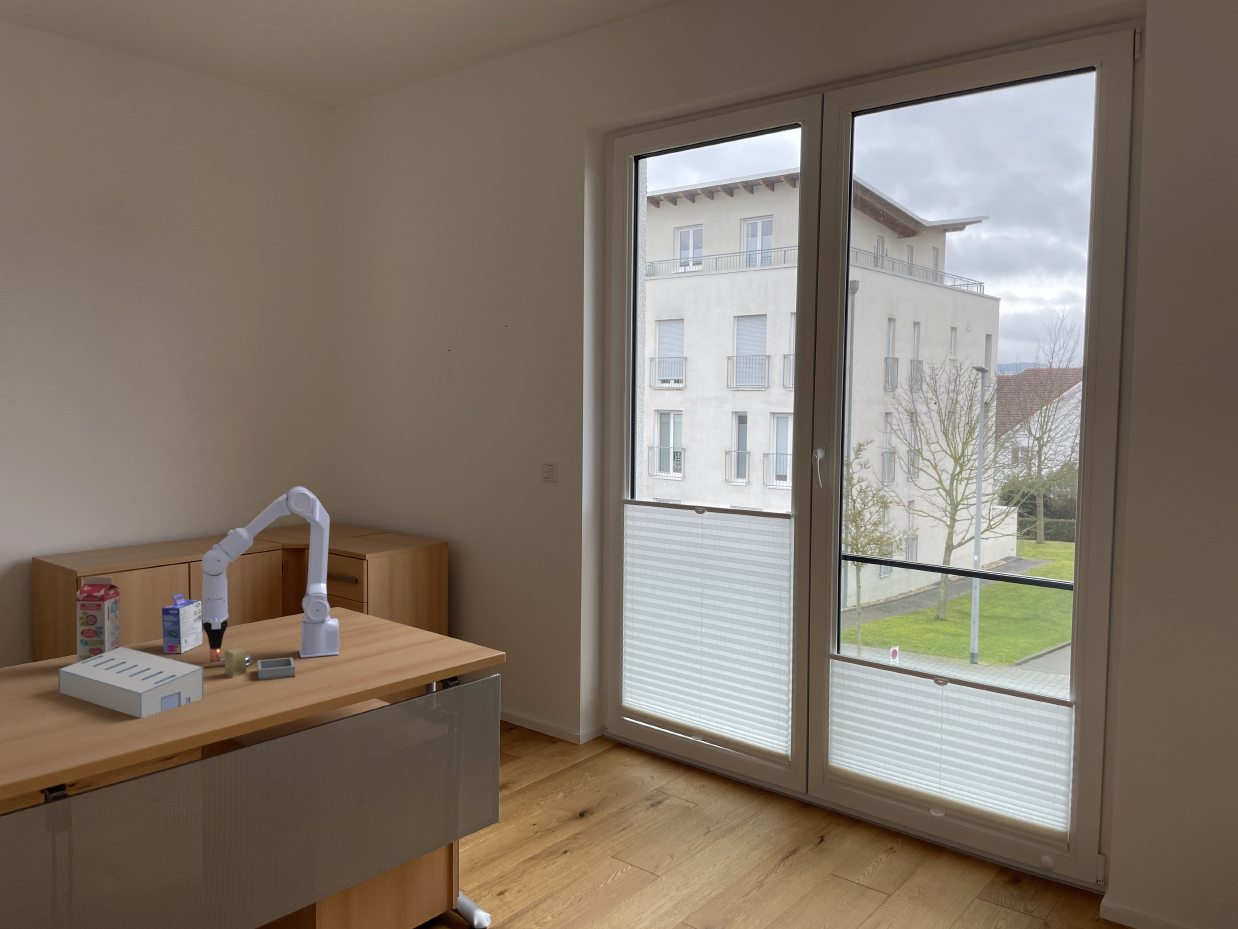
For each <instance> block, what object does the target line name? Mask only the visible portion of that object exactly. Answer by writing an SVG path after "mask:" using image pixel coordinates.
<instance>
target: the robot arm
mask: <svg viewBox="0 0 1238 929" xmlns="http://www.w3.org/2000/svg"><path fill="white" fill-rule="evenodd" d="M290 511H291V512H292V513H294V514H297V515H298V516H300V517H302V518H304V519H305V520H306V521H307V522H308V523H309V524H310V531H309V532H310V533H309V534H310V535H309V549H308V550H309V554H308V569H307V570H308V571H307V584H306V591H305V594H304V597H303V598H302V602H301V607H302V609H303V612H304V615H303V616H302V617H301V620H300V621H301V624H300V626H301V627H300V632H301V633H300V635H301V638H300V639H301V640H300V642H301V643H300V645H301V646H300V647H299V648H298V653H299V656H300V658H302V659H304V658H315V657H326V656H334V655H335V656H338V655H339V654H340V629H339V628H340V625H339V624H340V623H339V619H338V618H335V617H334V618H331V615H330V611H331V606H330V604H329V602H328V592H327V576H328V560H329V559H328V557H329V556H328V555H329V540H330V538H329V537H330V522H331V520H330V515H329V514H328V512H327V511H326V509H325V508H324V506H323V504H321V502H320V500H319V499H318V497H317V496H316V495H315V494H314V493H313V492H312V491H310V490H309V489H307V488H306V487H304V486H293V487H292V488H290V489H289V490H288V491H287V493H284V494H282V495H281V496H279V497H277V498H276V499H275V500H274V501H273V502H271V503H270V504H269V505H268V506H267V507H266V508H264V509H263V510H262V512H260V513H258V515H257V516H256V517H255V518H253V519H252V520H251V522H249V523H248V524H247V525H246V526H245V527H237V528H235V529H234V530H232V529H230V530H229V531H227V536H225V537H224V538H223V539H222V540H221V541H220V542H218V543H217V544H216V543H214V544H213V545H212V547H211V548H212V549H210V550H208V551H206V553H205V554H204V555H203V557H202V560H201V567H202V569H203V572H202V581H201V582H202V588H201V590H202V591H201V592H202V614H201V615H198V620H202V621H204V622H202V629H204V632H205V633H206V636H207V639H208V645H209V650H210V649H212V648H220V649H221V648H222V644H223V638H224V634H225V632H226V630H227V628H228V620H227V619H229V611H228V608H229V607H228V606H229V604H228V602H229V601H228V600H229V599H228V578H227V569H228V566H229V563H231V562H232V563H233V562H234V561H235V560H236V559H238V558H239V557H240V556H242V554H244V553H245V552H246V551H247V550H248V549H249V548H251V547H252V546H253V545H254V537H255V536H257V535H258V534H259V533H261V531H263V530H264V529H265V528H266V527H268V526H269V525H270V524H271V523H273V522H274V521H275V520H276V519H277V518H280V517H284V516H290V515H291V512H290Z"/></svg>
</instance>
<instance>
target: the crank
mask: <svg viewBox="0 0 1238 929" xmlns="http://www.w3.org/2000/svg"><path fill="white" fill-rule="evenodd" d="M221 654H222V653H221V649H220V648H212V649H210V648H209V662H210V663H212V664H218V663H225V657H221ZM250 660H251V655H249V654H246V662H249V661H250Z"/></svg>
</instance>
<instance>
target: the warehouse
mask: <svg viewBox="0 0 1238 929" xmlns="http://www.w3.org/2000/svg"><path fill="white" fill-rule="evenodd" d="M57 671H58V672H57V673H58V693H59V694H62V695H66V696H70V697H73V698H76V699H79V700H82V701H86V702H88V703H92V704H94V705H98V706H101V707H103V708H107V709H110V710H113V709H114V710H113V711H117V712H120V713H123V714H125V715H130V716H133V717H135V718H139V719H143V718H142V717H144V718H147V717H150V716H153V715H156V714H155V713H157V714H159V712H160V713H162V712H165V711H168V710H172V709H174V708H173V707H175V708H178V707H182V706H184V704H185V705H188V704H191V703H190V702H192V703H194V702H193V701H195V702H197V700H198V701H201V700H204V699H205V698H204V696H205V695H204V690H205V689H204V666H202V665H201V666H200V665H197V664H194V663H193V664H192V663H189V662H185V661H180V660H176V659H173V658H169V657H164V656H161V655H158V654H153V653H149V652H146V651H141V650H137V649H134V648H130V647H126V646H121V645H120V647H119V648H116V649H113V650H110V651H108V652H105V653H102V654H99V655H97V656H94V657H91V658H89V659H86V660H83V661H80V662H78V663H77V662H75V663H73V664H69V665H67V666H64V667H61V668H58V670H57ZM200 699H201V700H200ZM187 703H188V704H187ZM181 705H182V706H181ZM177 706H178V707H177ZM171 708H172V709H171ZM167 709H168V710H167ZM164 710H165V711H164ZM152 714H153V715H152ZM149 715H150V716H149ZM146 716H147V717H146Z"/></svg>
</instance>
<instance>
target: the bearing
mask: <svg viewBox="0 0 1238 929" xmlns="http://www.w3.org/2000/svg"><path fill="white" fill-rule="evenodd" d="M252 663H253V664H254V660H253V659H250V661H249V662H246V667H249V666H248V665H250V666H252V665H253V664H252ZM251 664H252V665H251Z"/></svg>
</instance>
